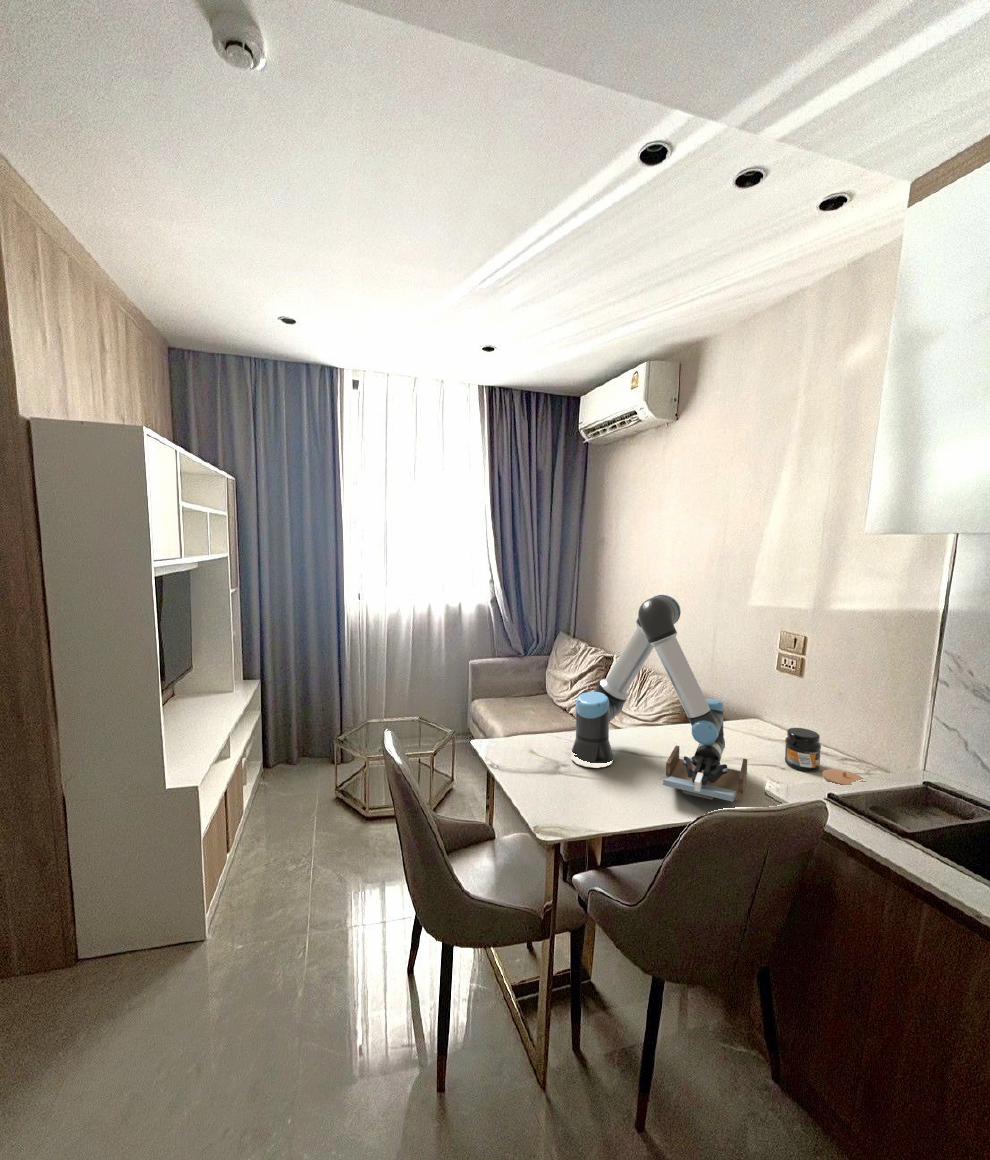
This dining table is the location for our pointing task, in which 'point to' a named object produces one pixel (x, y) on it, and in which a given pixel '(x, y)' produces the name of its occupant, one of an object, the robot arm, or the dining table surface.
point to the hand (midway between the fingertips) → (697, 786)
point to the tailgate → (705, 791)
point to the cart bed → (728, 781)
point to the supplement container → (802, 749)
